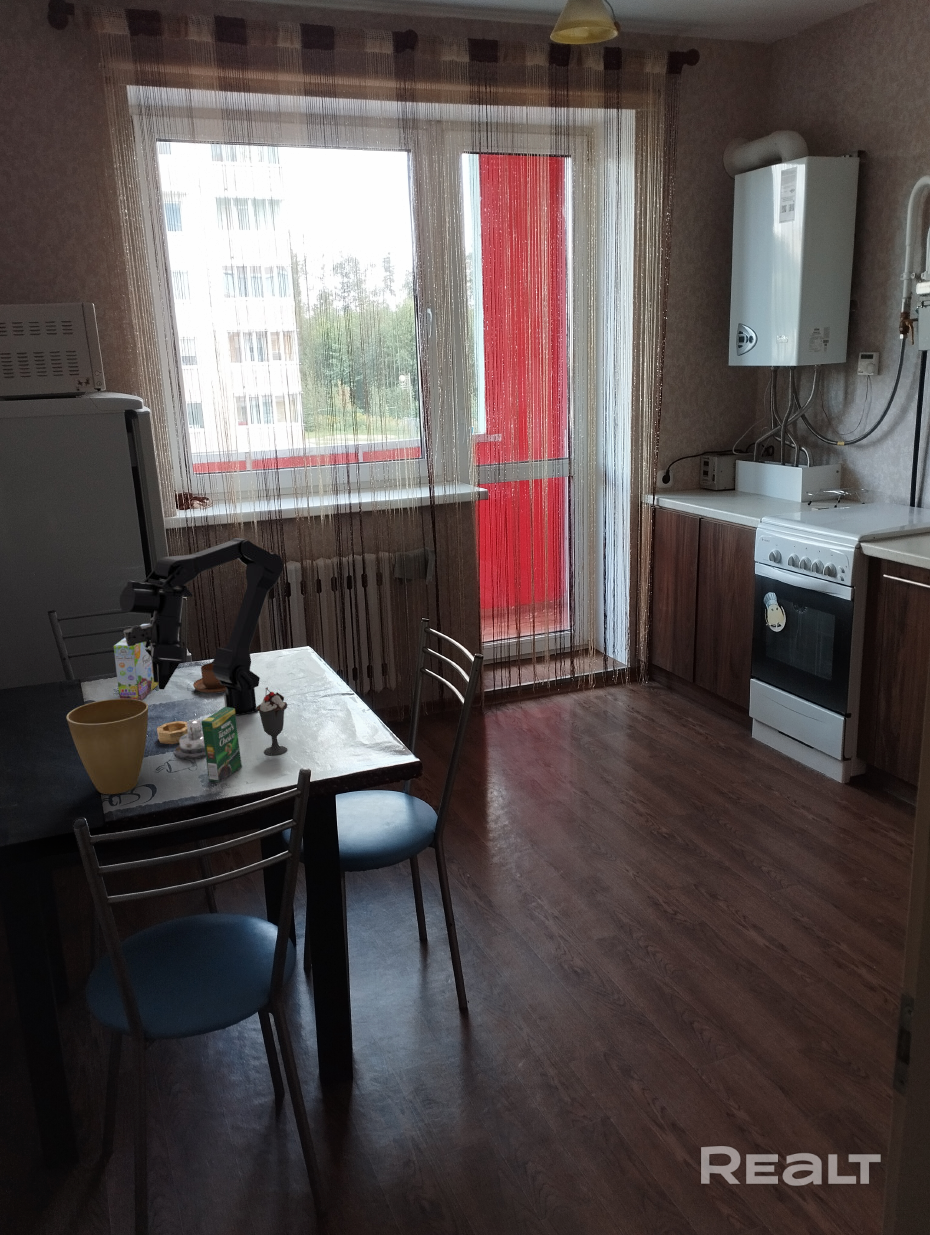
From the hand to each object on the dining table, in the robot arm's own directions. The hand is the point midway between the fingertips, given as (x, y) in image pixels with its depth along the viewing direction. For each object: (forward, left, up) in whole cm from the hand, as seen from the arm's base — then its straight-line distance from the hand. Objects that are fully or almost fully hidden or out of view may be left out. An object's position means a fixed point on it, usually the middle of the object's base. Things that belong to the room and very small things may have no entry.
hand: (158, 685), depth 211 cm
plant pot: (+12, +22, -12) cm, 28 cm away
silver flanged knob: (-5, +11, -12) cm, 17 cm away
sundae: (-20, +20, -12) cm, 31 cm away
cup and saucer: (-17, -29, -13) cm, 36 cm away
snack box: (0, -38, -13) cm, 40 cm away
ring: (-2, +1, -12) cm, 12 cm away
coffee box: (-8, +27, -12) cm, 31 cm away
